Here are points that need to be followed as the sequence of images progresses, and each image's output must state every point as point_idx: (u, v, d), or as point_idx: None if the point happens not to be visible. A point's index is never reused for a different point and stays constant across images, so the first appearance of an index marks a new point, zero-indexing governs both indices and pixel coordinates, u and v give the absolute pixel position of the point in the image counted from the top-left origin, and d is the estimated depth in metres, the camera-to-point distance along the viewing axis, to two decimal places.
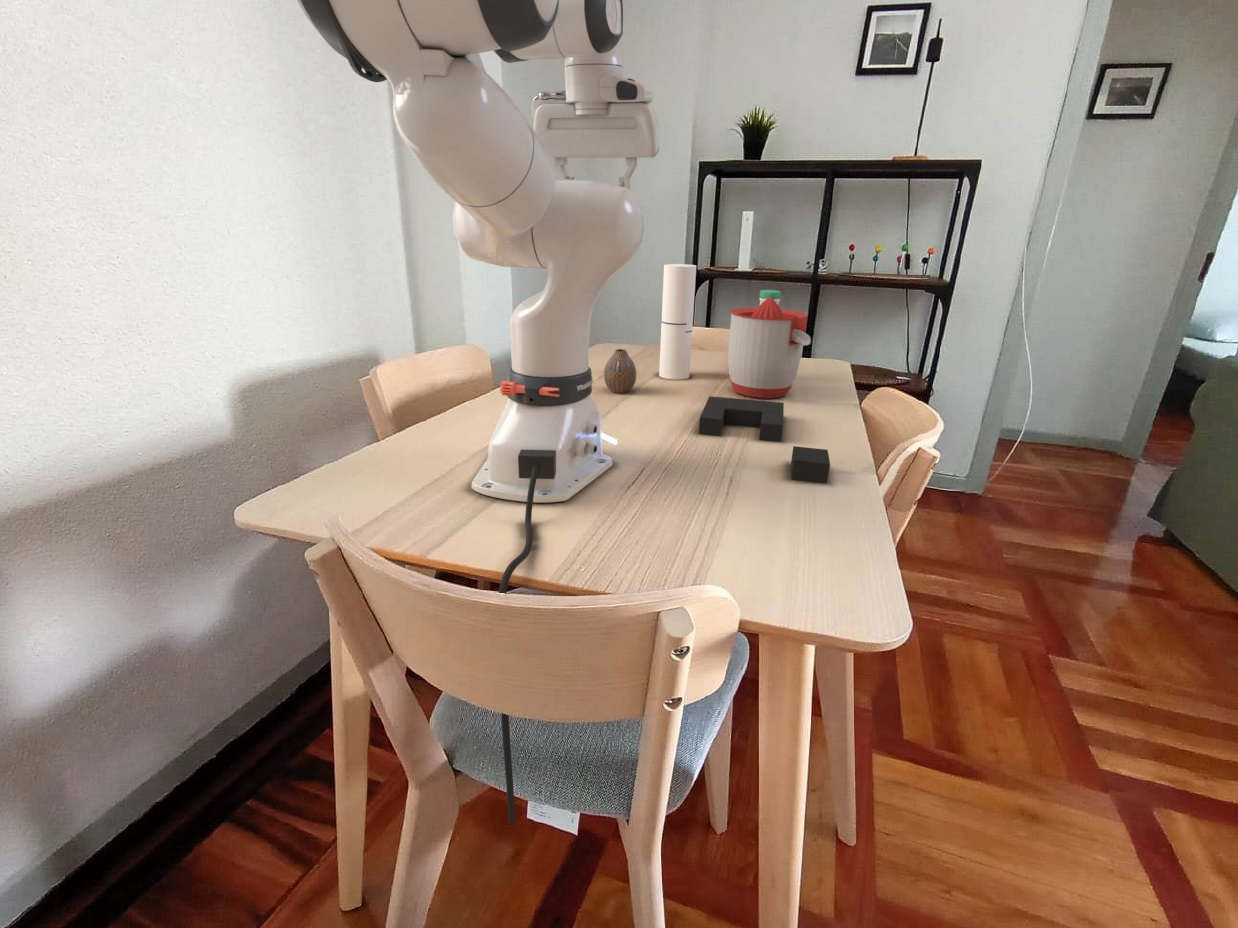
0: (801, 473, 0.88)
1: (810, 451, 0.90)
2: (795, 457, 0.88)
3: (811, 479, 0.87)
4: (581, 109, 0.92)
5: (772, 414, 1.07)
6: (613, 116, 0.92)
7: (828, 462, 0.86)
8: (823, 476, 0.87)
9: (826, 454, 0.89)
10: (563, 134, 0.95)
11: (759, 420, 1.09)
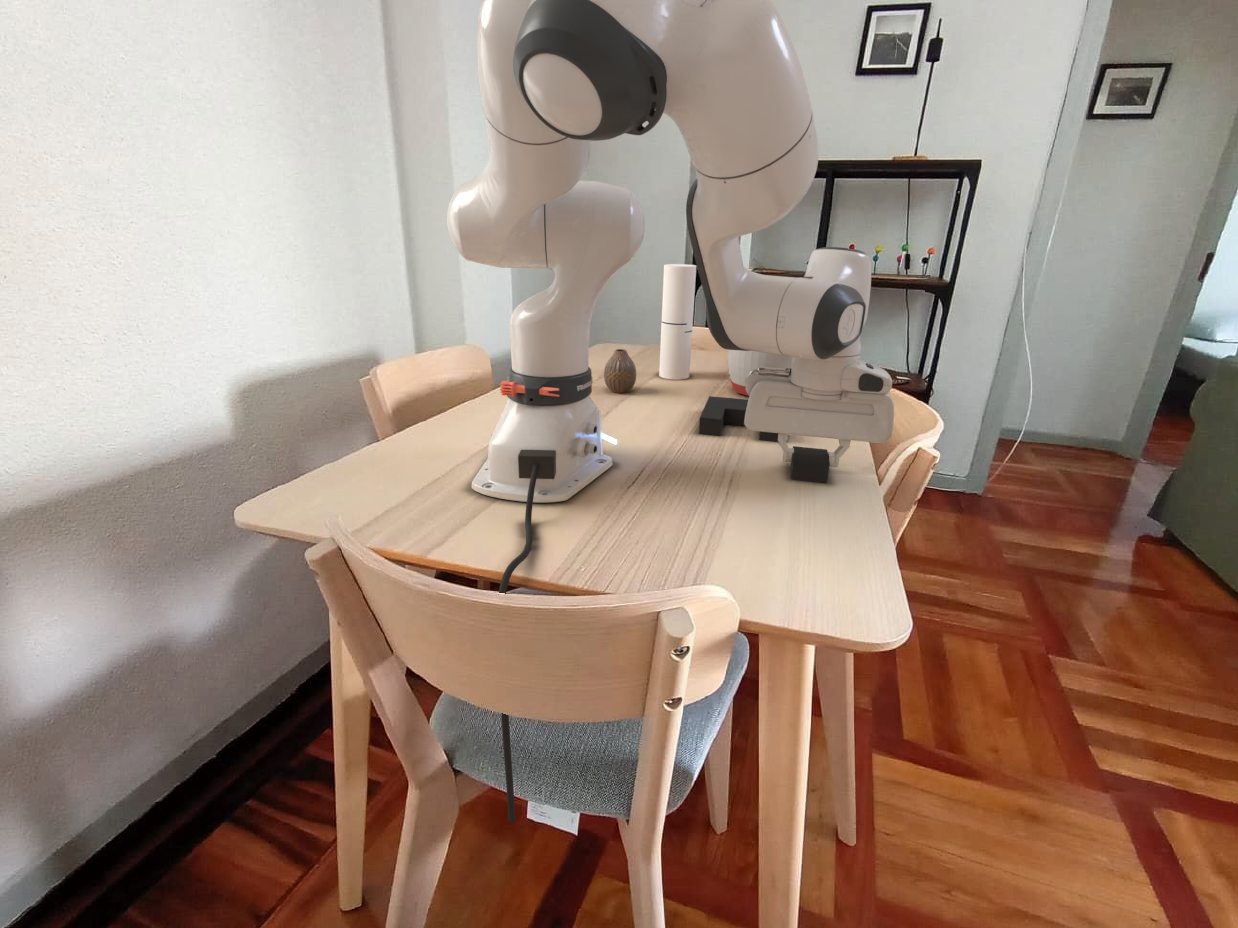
0: (800, 473, 0.88)
1: (810, 451, 0.90)
2: (795, 457, 0.88)
3: (811, 479, 0.87)
4: (812, 393, 0.83)
5: None
6: (847, 401, 0.83)
7: (828, 462, 0.86)
8: (823, 476, 0.87)
9: (826, 454, 0.89)
10: (784, 412, 0.86)
11: None
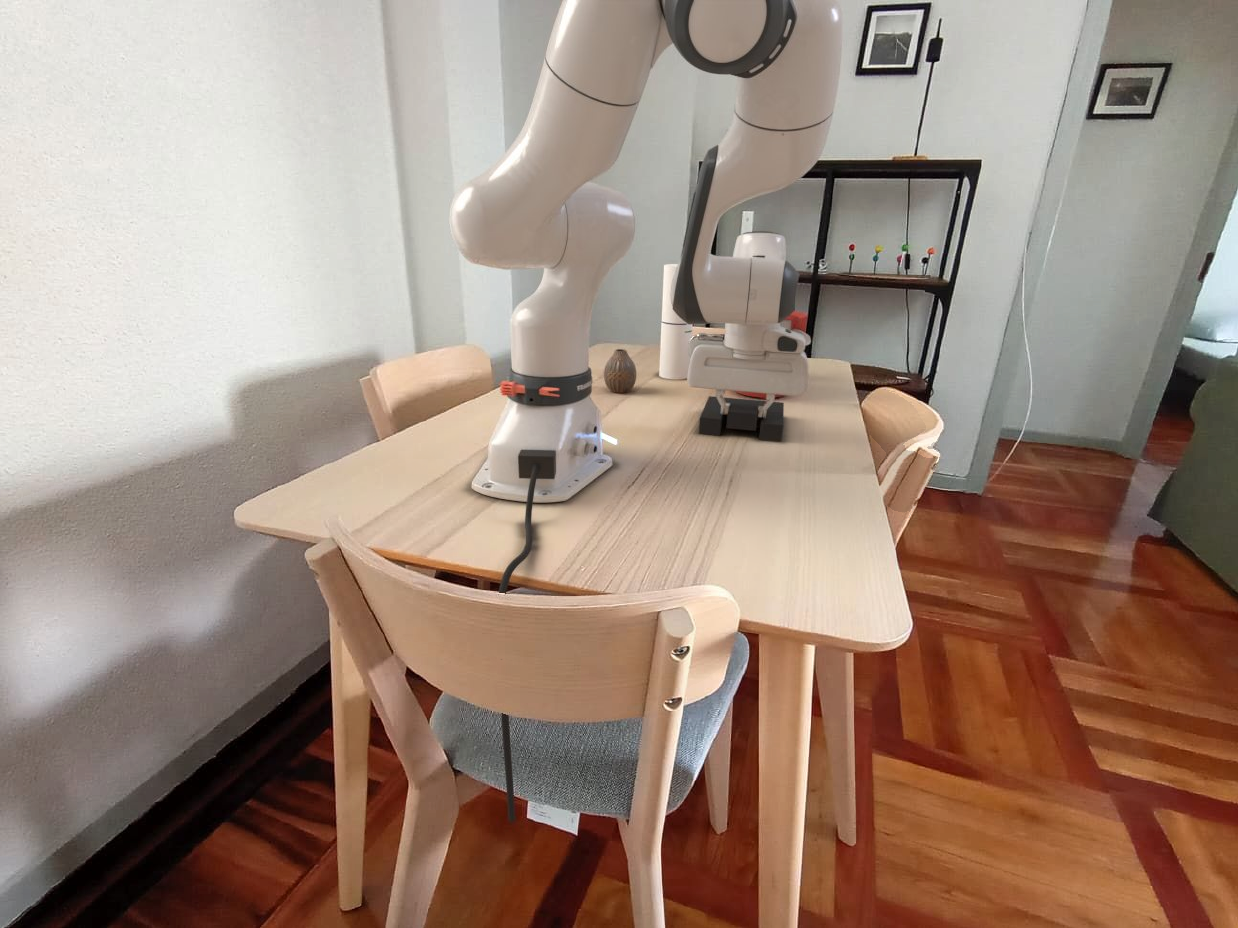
0: (734, 423, 1.04)
1: (744, 405, 1.07)
2: (729, 409, 1.05)
3: (742, 427, 1.04)
4: (740, 354, 1.00)
5: (772, 414, 1.07)
6: (770, 361, 1.00)
7: (756, 413, 1.03)
8: (752, 425, 1.03)
9: (757, 407, 1.06)
10: (719, 371, 1.03)
11: (759, 420, 1.09)
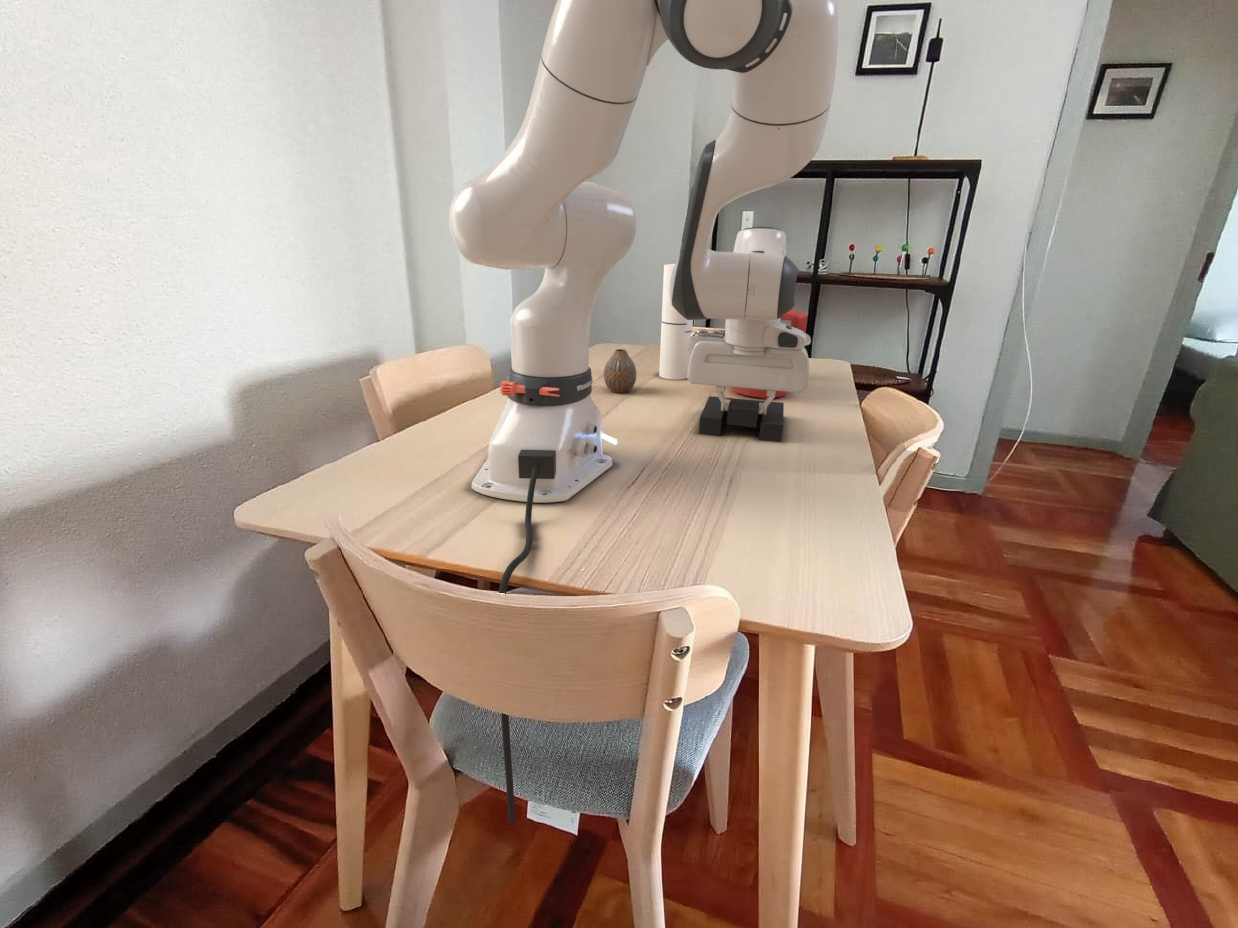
0: (734, 419, 1.04)
1: (744, 402, 1.07)
2: (730, 406, 1.04)
3: (743, 424, 1.04)
4: (741, 350, 0.99)
5: (772, 414, 1.07)
6: (770, 357, 1.00)
7: (756, 409, 1.03)
8: (752, 421, 1.03)
9: (757, 404, 1.06)
10: (719, 367, 1.02)
11: (759, 420, 1.09)
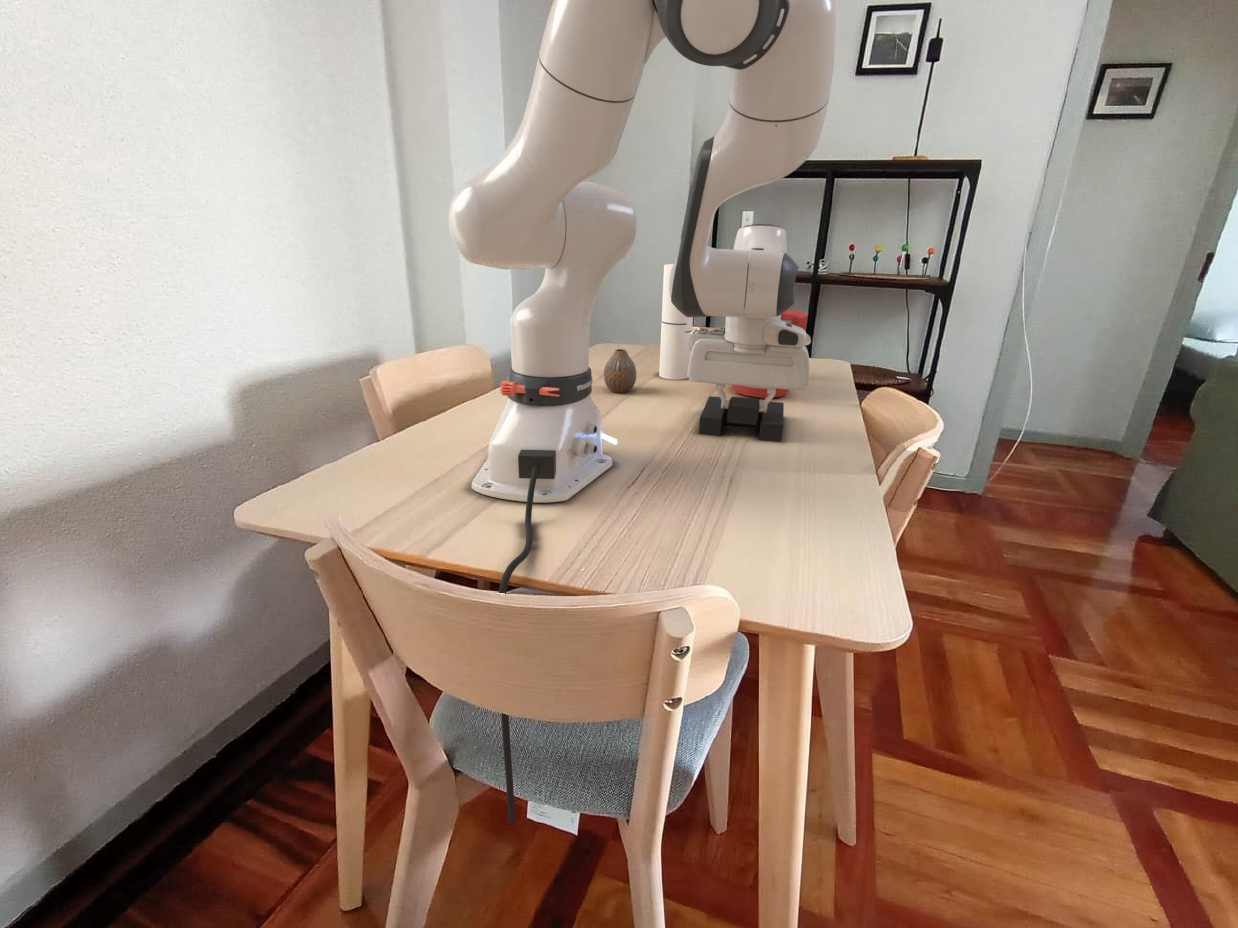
0: (734, 417, 1.04)
1: (744, 400, 1.07)
2: (730, 403, 1.04)
3: (743, 422, 1.04)
4: (741, 348, 0.99)
5: (772, 414, 1.07)
6: (771, 355, 0.99)
7: (757, 407, 1.03)
8: (753, 419, 1.03)
9: (757, 402, 1.06)
10: (719, 365, 1.02)
11: (759, 420, 1.09)
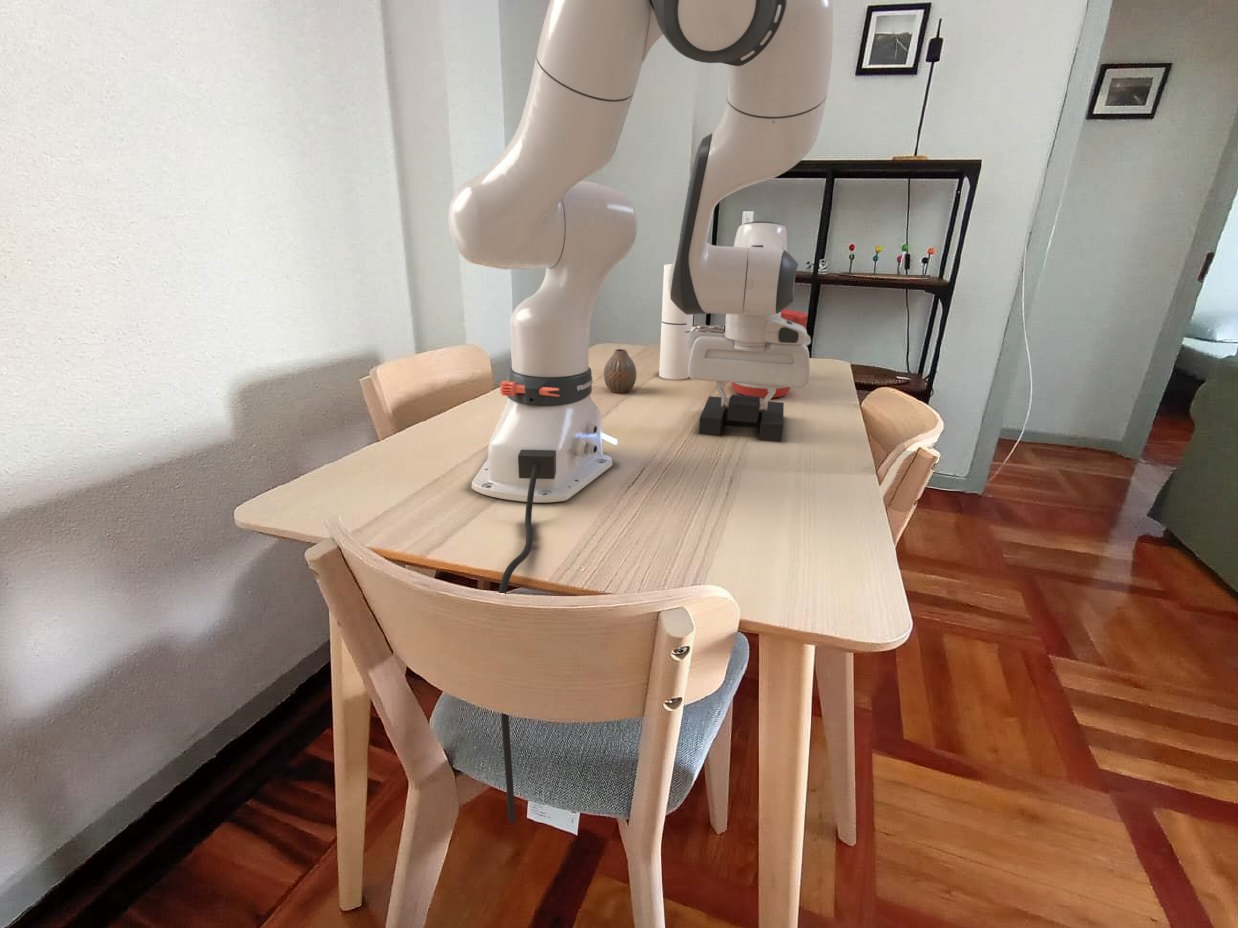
0: (735, 415, 1.04)
1: (745, 397, 1.06)
2: (730, 401, 1.04)
3: (743, 419, 1.03)
4: (741, 346, 0.99)
5: (772, 414, 1.07)
6: (771, 352, 0.99)
7: (757, 405, 1.02)
8: (753, 417, 1.03)
9: (758, 399, 1.05)
10: (719, 363, 1.02)
11: (759, 420, 1.09)
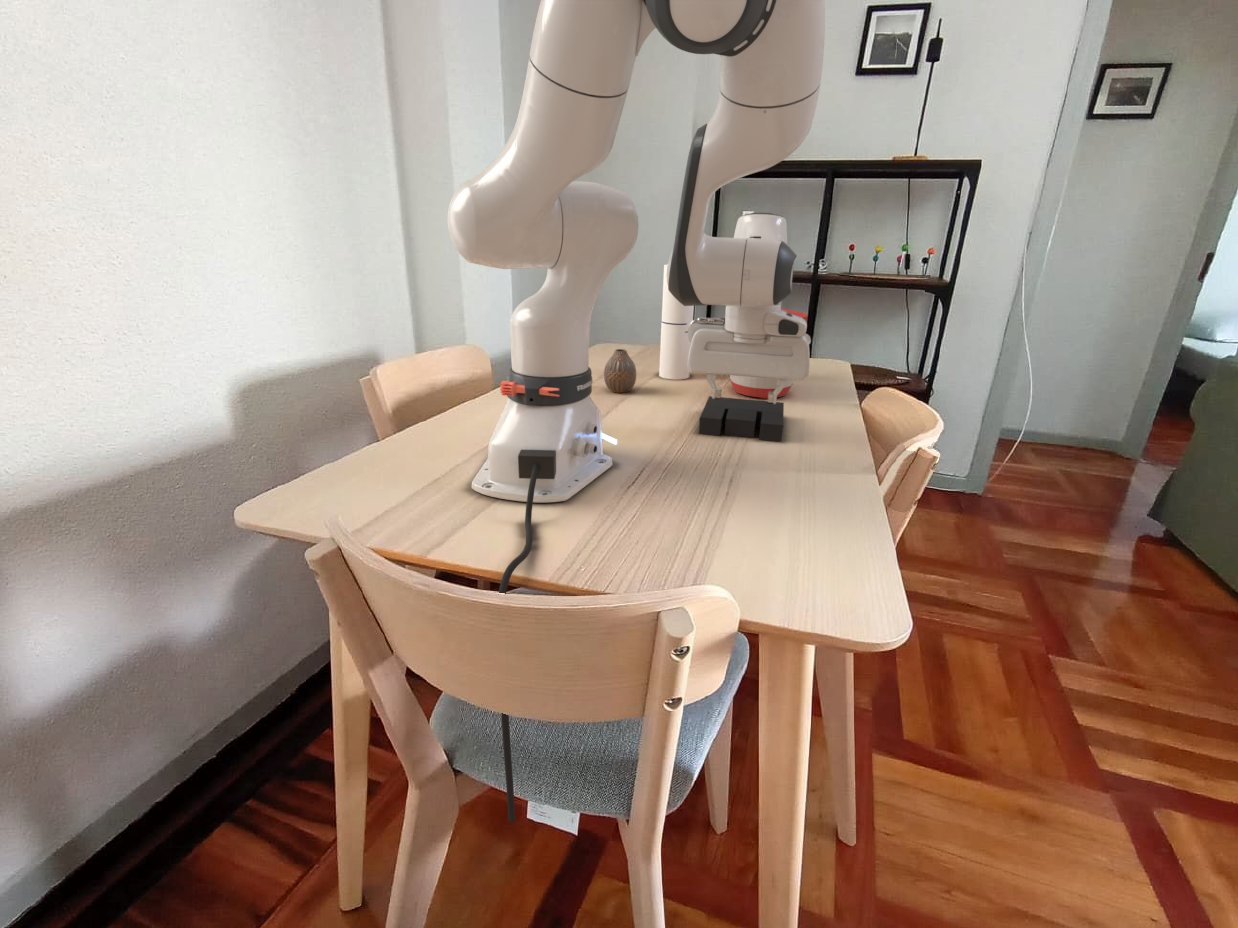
0: (732, 430, 1.05)
1: (741, 412, 1.08)
2: (727, 416, 1.05)
3: (740, 434, 1.05)
4: (741, 338, 0.99)
5: (772, 414, 1.07)
6: (771, 345, 0.99)
7: (754, 420, 1.04)
8: (750, 432, 1.04)
9: (754, 414, 1.07)
10: (719, 355, 1.02)
11: (759, 420, 1.09)
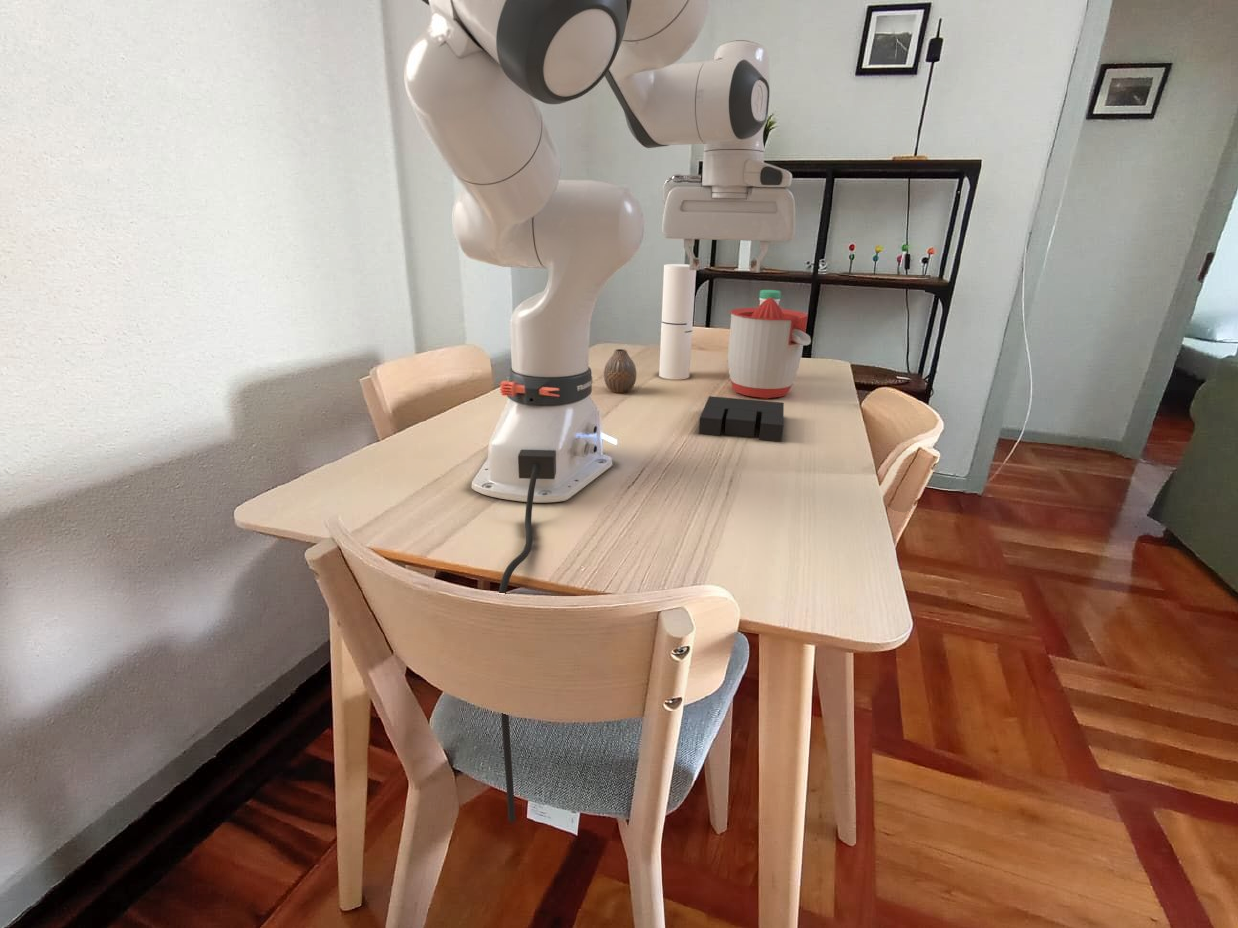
0: (732, 430, 1.05)
1: (741, 412, 1.08)
2: (727, 416, 1.05)
3: (740, 434, 1.05)
4: (720, 192, 0.90)
5: (772, 414, 1.07)
6: (753, 200, 0.90)
7: (754, 420, 1.04)
8: (750, 432, 1.04)
9: (754, 414, 1.07)
10: (696, 216, 0.93)
11: (759, 420, 1.09)
